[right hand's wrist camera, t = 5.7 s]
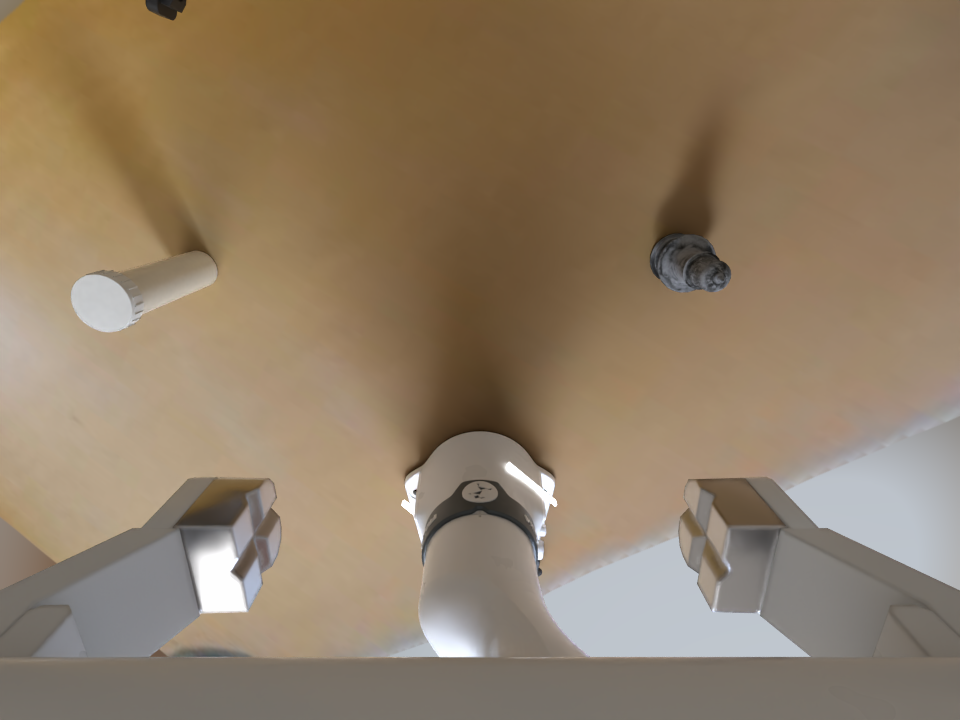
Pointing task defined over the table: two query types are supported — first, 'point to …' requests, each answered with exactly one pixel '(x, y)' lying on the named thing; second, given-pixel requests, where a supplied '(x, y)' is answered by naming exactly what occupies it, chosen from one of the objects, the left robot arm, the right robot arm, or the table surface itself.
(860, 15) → the table surface
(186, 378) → the table surface
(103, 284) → the lid
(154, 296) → the bottle
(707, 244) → the grey chess piece
